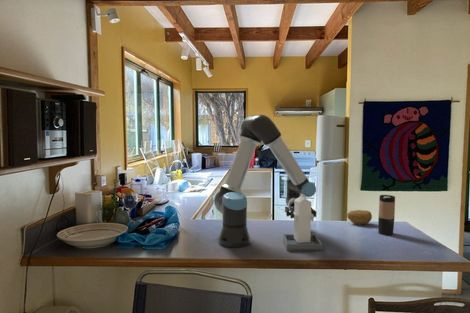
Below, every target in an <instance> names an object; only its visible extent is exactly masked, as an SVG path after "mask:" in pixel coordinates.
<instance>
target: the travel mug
mask: <svg viewBox="0 0 470 313" xmlns="http://www.w3.org/2000/svg"><path fill="white" fill-rule="evenodd" d="M378 202H379V203H378V223H377V224H378V228H377V229H378V234H380V235H383V236H393V235H394V228H395V218H396V217H395V215H396V214H395V212H396V196H394V195H391V194H380V195H379V201H378Z"/></svg>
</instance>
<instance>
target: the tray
mask: <svg viewBox="0 0 470 313" xmlns="http://www.w3.org/2000/svg"><path fill="white" fill-rule="evenodd" d="M282 241H283V243H284V246H285V248H286V249H285V250H286V251H288V252H289V251H290V252H291V251H292V252H293V251H294V252H299V251H300V252H323V249H324V248H323V247H324V246H323V243H322V241H321V240H320V239H319V237H318V236H317V234H311V238H310V242H302V243H298V242H297V241H296V240H295V239H294V233H293V234H292V233H291V234H289V233H287V234H286V233H284V234H282Z"/></svg>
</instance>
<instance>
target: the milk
mask: <svg viewBox="0 0 470 313" xmlns="http://www.w3.org/2000/svg"><path fill="white" fill-rule="evenodd" d="M311 207H312V201H310V200H308V199H307V197H306V196H305V195H303V194H301V193H300V197H298V198H297V199H295V202H294V212H295V213H296V214H297V221H295V220H294V219H293V220H294V221H293V234H294V239H295V240H296V241H297V242H298V243H302V242H310V238H311V235H312V234H311V233H312V228H311V227H312V221H311Z"/></svg>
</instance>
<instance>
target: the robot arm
mask: <svg viewBox="0 0 470 313" xmlns="http://www.w3.org/2000/svg"><path fill="white" fill-rule="evenodd" d="M240 125H241V126H240V131H241V132H240V134H239V138H240V142H239V145H238V147H237V150H236V153H235V157H234V160H233V162H232V164H231V167H230V171H229V173H228V175H227V178H226V181H225V183H223V184H221V186H220V188H219V191H217V193H216V194H215V196H214V199H213V201H214V202H213V203H214V206H215V208H216V210H217V211H218V212H220V213H221V214H222V226H221V227H222V228H221V231H220V232H219V237H218V244H219V245H220V246H223V247H225V248H226V247H227V248H242V247H246V246H249V245H250V244H251V236H250V233H249V230H248V226H247V225H248V223H247V221H248V216H247V214H248V213H247V212H248V207H247V206H248V200H247V199H248V198H247V196H246V195H245V194H243V191H242V187H243V184H244V182H245V179H246V176H247V173H248V171H249V168H250V165H251V162H252V160H253V157H254V155H255V151H256V149H257V146H260V145H261V143H263V144H264V145H265V146H267V147H268V148H269V149H270V151H271V153H272V154H273V156H274V157H275V159H276V160H277V161H278V163H279V164H280V166H281V167H282V170H283V171H284V172H285V174H286V175H287V176H286V197H285V205H286V206H284V212H285V213H286V214H285V215H286V217H289V218H290V219H293V220H295V221H297V214H296V213H295V212H294V202H295V199H297V198H298V197H300V193H301V194H303V195H305V196H306V198H312V197H313V196H314V195H315V194H316V192H317V187H316V185H315V184H314V182H313V183H312V182H311V181H310V180H309V179H308V177H307V176H306V175H305V172H304V171H303V170H302V167H300V165H299V164H298V162H297V161H296V159H295V157H294V156H293V154H292V153H291V151H290V149H289V148H288V146H287V145H286V143H285V142H284V139H282V133H281V131H280V130H279V128H278V127H277V126H276V124H275V122H274V121H273V120H272V118H270V117H269V116H267V115H265V114H255V115H249V116H247V117H246V118H244V119H243V120H242V123H241V124H240ZM316 217H317V211H316V210H315V209H314V208H313V207H312V206H311V222H314V220H315V218H316Z"/></svg>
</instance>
